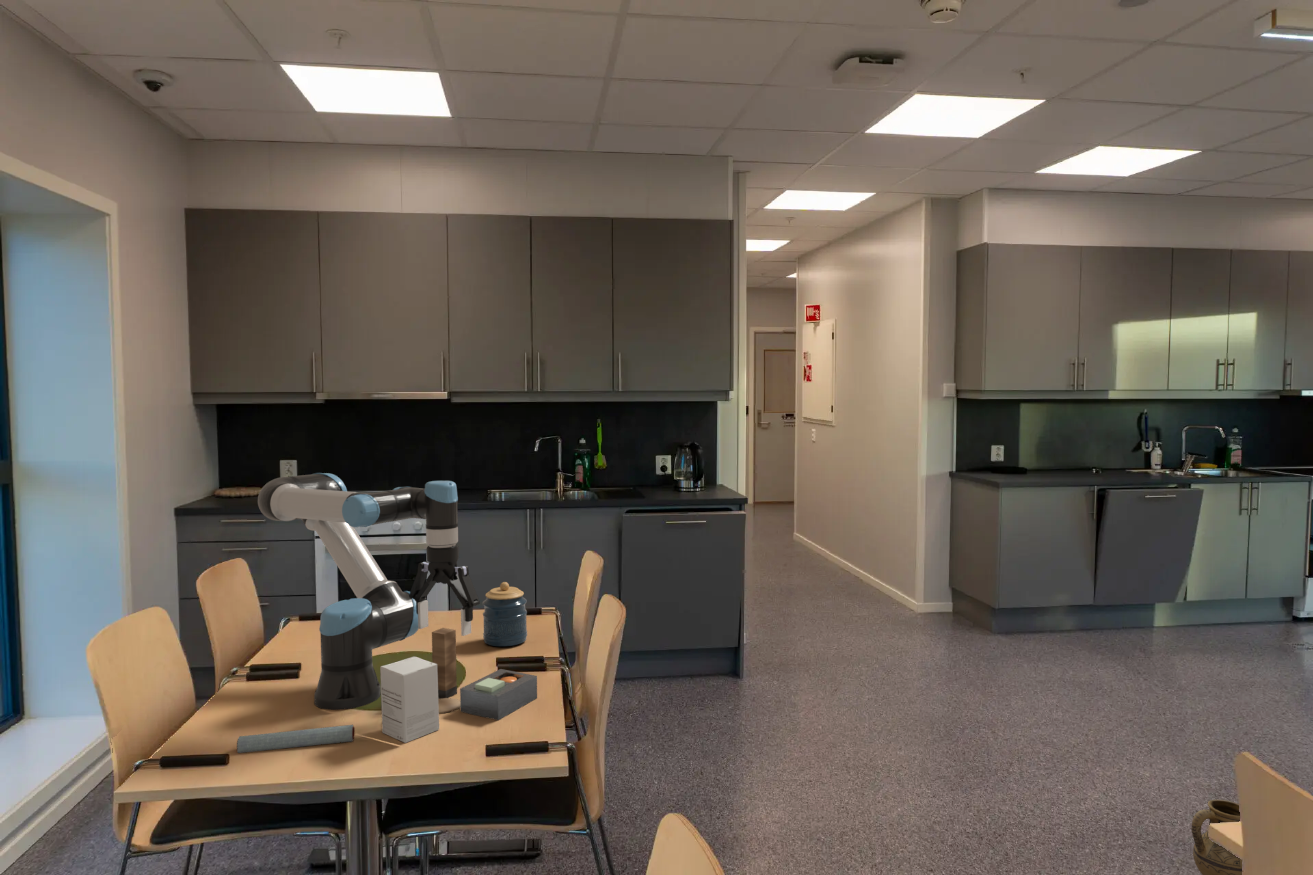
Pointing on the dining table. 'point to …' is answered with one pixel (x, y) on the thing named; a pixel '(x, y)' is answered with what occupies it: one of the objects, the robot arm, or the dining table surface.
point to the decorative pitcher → (1209, 857)
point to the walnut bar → (445, 661)
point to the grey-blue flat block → (295, 738)
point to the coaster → (448, 705)
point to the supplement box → (409, 699)
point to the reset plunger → (509, 679)
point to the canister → (504, 616)
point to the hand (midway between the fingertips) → (444, 630)
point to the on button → (490, 685)
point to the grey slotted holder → (499, 695)
